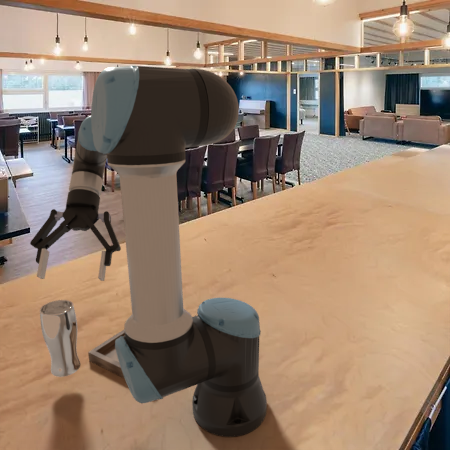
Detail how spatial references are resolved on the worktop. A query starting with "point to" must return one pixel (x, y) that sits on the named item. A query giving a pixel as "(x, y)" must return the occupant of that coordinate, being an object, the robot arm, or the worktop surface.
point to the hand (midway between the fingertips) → (71, 278)
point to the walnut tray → (107, 355)
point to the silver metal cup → (60, 336)
